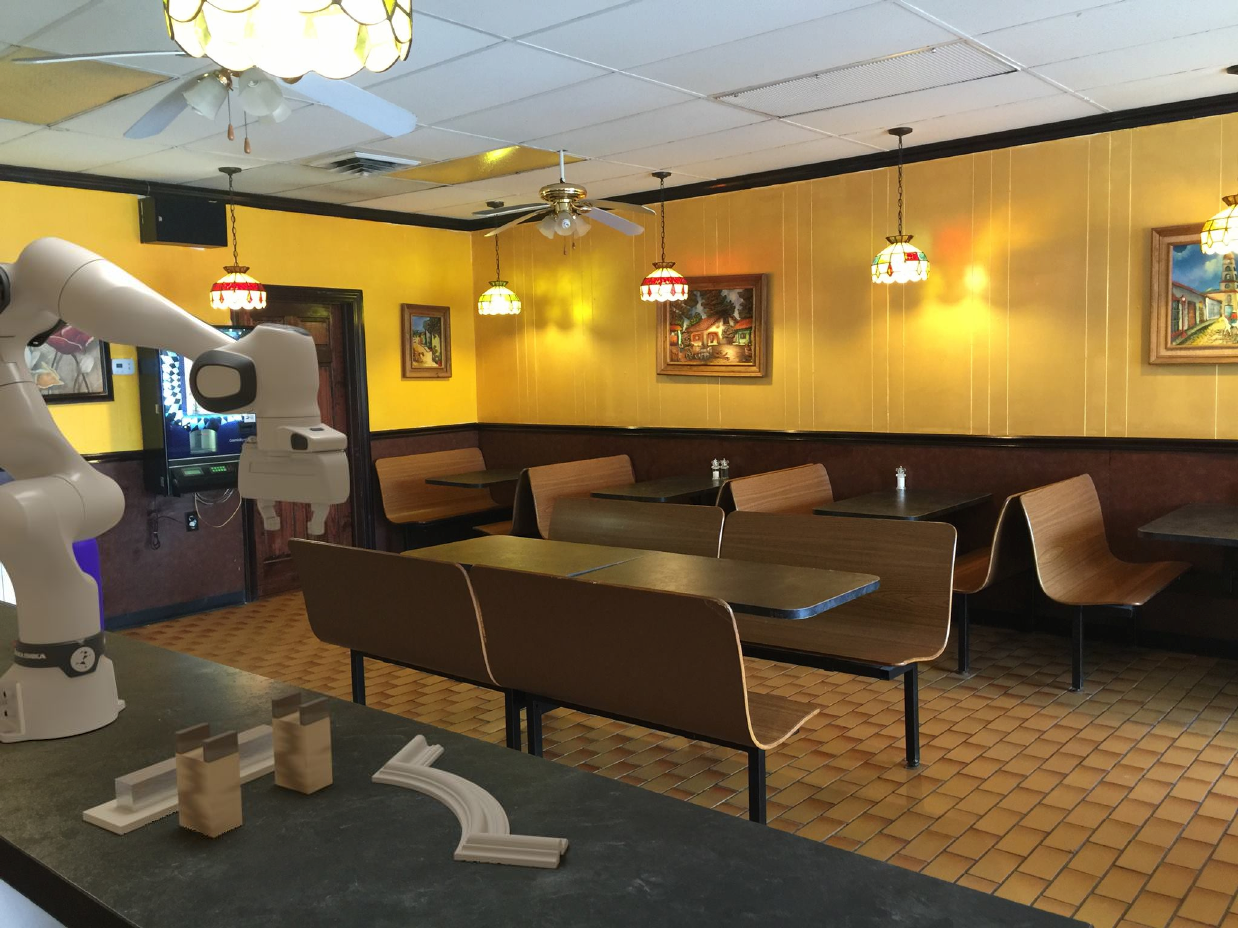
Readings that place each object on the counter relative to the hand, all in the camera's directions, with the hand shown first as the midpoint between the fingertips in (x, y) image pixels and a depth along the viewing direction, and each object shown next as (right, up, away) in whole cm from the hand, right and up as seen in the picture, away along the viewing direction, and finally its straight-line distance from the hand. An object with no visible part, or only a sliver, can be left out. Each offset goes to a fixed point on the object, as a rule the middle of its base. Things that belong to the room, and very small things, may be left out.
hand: (293, 531), depth 144 cm
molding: (+29, -33, -19) cm, 48 cm away
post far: (+6, -32, -13) cm, 35 cm away
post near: (-2, -34, -25) cm, 42 cm away
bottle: (-58, -28, +50) cm, 81 cm away
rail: (-7, -32, -13) cm, 35 cm away
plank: (-7, -33, -13) cm, 36 cm away
